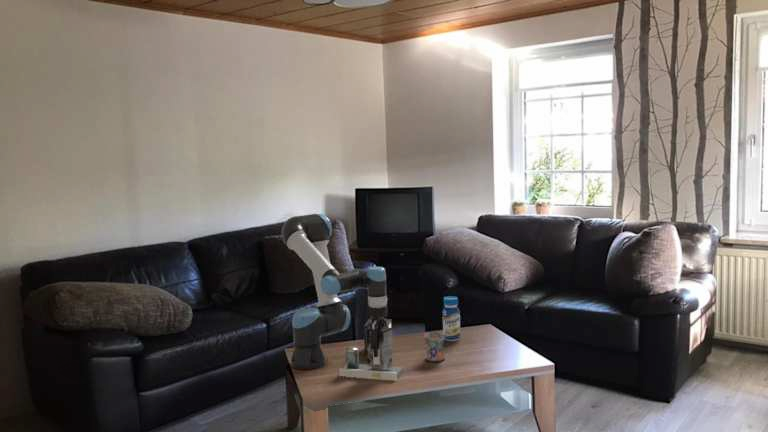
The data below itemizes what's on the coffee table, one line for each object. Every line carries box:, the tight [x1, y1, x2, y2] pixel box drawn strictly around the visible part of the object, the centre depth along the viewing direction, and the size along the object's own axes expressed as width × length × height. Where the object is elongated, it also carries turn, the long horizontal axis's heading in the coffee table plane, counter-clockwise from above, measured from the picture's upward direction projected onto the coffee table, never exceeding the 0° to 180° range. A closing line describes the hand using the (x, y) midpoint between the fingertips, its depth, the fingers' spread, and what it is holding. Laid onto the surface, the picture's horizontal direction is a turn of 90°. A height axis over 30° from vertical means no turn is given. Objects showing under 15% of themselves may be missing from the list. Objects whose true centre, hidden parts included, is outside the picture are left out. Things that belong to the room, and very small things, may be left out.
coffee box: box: [366, 327, 394, 370], centre depth 247 cm, size 9×6×16 cm
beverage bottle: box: [441, 295, 462, 342], centre depth 290 cm, size 8×8×20 cm
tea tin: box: [345, 346, 360, 369], centre depth 252 cm, size 5×5×8 cm
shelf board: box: [338, 363, 404, 382], centre depth 249 cm, size 24×10×3 cm, turn 72°
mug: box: [423, 331, 446, 362], centre depth 264 cm, size 12×9×11 cm
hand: (380, 360), depth 248 cm, fingers closed on coffee box, 8 cm apart
